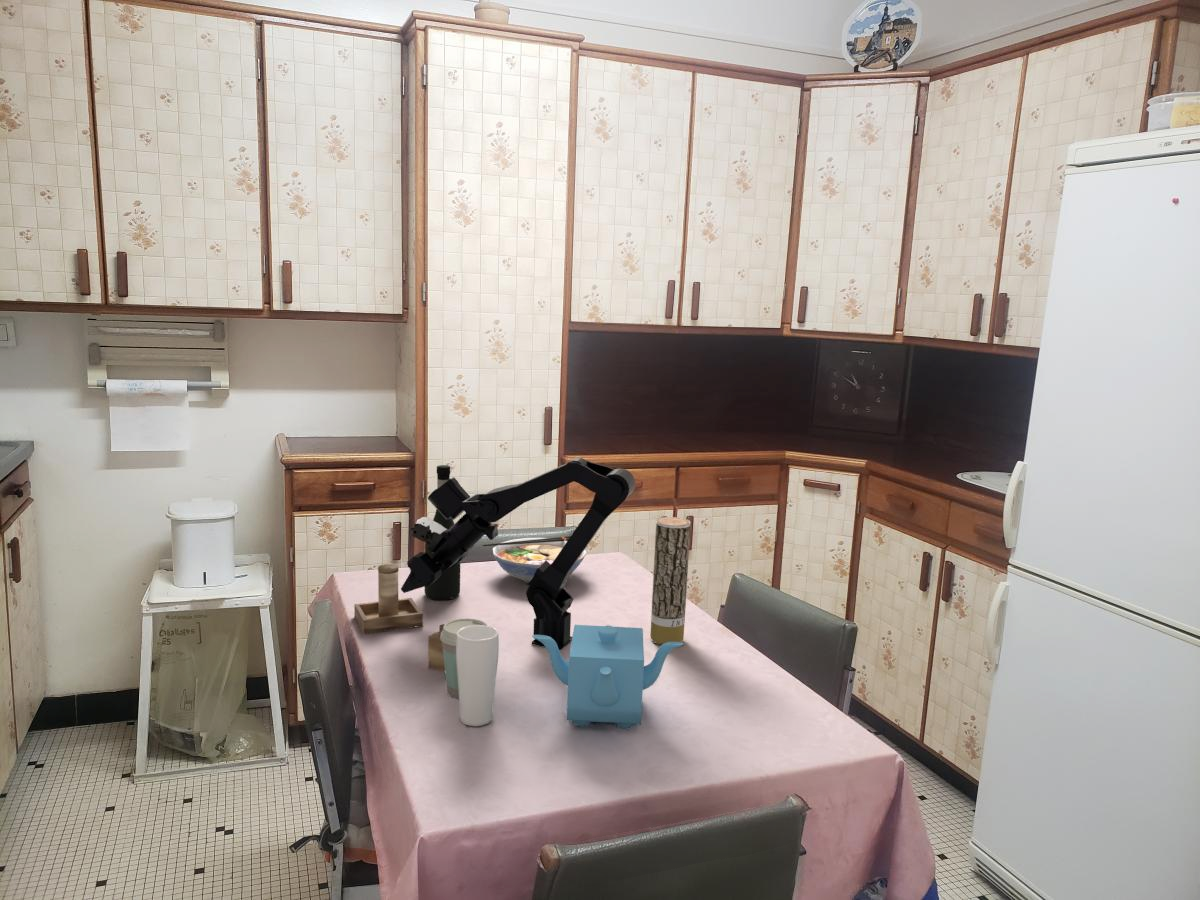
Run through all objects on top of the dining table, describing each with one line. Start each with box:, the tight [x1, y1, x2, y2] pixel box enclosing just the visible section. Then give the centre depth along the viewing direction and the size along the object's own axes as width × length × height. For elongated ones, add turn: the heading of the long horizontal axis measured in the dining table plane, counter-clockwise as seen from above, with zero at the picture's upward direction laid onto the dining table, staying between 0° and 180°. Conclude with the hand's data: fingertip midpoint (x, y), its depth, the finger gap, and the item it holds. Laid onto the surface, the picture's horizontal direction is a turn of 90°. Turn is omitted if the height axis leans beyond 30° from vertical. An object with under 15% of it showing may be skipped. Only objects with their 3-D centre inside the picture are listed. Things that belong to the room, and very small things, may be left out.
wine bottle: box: [423, 464, 461, 601], centre depth 199 cm, size 8×8×30 cm
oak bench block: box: [427, 623, 446, 672], centre depth 161 cm, size 3×10×8 cm, turn 68°
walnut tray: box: [353, 597, 424, 635], centre depth 184 cm, size 12×10×3 cm
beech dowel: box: [377, 563, 399, 617], centre depth 183 cm, size 4×4×11 cm
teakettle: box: [531, 624, 684, 729], centre depth 146 cm, size 19×19×15 cm
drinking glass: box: [456, 625, 500, 727], centre depth 142 cm, size 7×7×15 cm
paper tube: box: [649, 516, 691, 646], centre depth 178 cm, size 7×7×25 cm
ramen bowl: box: [482, 535, 588, 583], centre depth 214 cm, size 25×23×8 cm
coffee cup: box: [440, 618, 488, 700], centre depth 152 cm, size 8×9×12 cm
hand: (412, 583), depth 182 cm, fingers open, 9 cm apart
